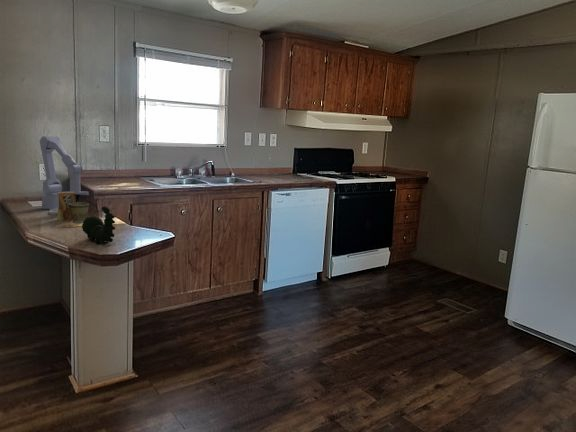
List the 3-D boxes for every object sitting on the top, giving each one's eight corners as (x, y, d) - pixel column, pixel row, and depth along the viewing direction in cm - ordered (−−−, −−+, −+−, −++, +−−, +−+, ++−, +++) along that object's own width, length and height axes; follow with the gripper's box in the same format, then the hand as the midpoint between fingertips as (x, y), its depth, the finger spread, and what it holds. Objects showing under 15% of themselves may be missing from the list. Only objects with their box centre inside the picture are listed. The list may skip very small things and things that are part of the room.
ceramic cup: (81, 224, 250) (81, 206, 248) (65, 222, 252) (64, 204, 250) (96, 219, 263) (95, 202, 261) (80, 218, 264) (80, 201, 263)
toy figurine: (120, 248, 214) (94, 233, 230) (121, 208, 210) (95, 196, 226) (100, 251, 208) (75, 235, 223) (101, 210, 203) (75, 197, 219)
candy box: (74, 218, 264) (73, 191, 261) (76, 219, 261) (75, 192, 258) (57, 219, 259) (56, 192, 256) (59, 220, 255) (58, 193, 252)
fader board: (49, 214, 270) (49, 211, 269) (49, 212, 277) (49, 209, 276) (87, 213, 279) (87, 210, 278) (86, 210, 286) (86, 208, 285)
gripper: (61, 185, 270) (62, 208, 272) (88, 185, 276) (89, 207, 279) (61, 183, 276) (62, 206, 278) (88, 183, 282) (88, 205, 285)
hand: (75, 207), depth 279 cm, fingers closed, pressing on fader knob
